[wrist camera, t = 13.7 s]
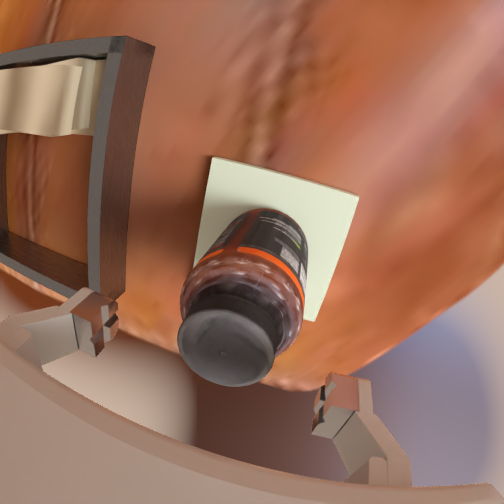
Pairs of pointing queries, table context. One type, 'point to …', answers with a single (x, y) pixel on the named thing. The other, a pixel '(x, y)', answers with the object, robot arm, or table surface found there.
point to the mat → (289, 202)
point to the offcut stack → (51, 98)
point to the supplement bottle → (245, 299)
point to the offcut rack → (101, 168)
